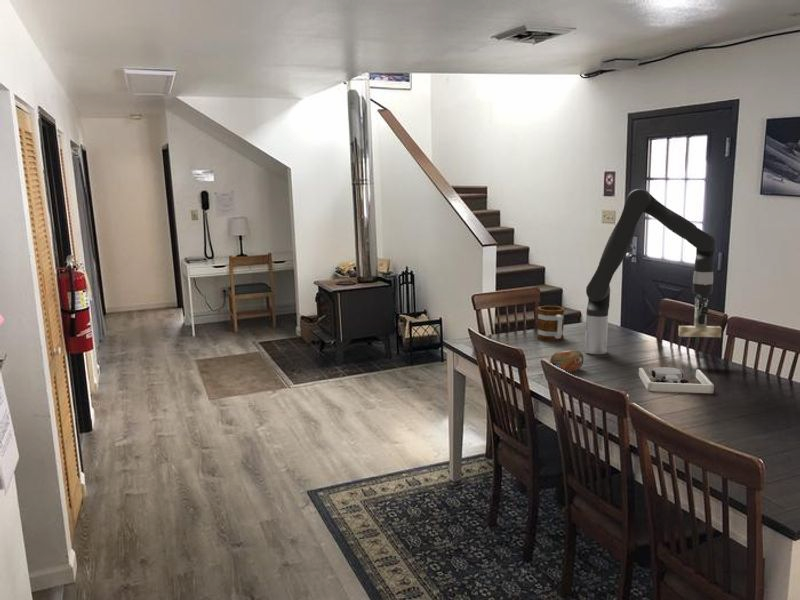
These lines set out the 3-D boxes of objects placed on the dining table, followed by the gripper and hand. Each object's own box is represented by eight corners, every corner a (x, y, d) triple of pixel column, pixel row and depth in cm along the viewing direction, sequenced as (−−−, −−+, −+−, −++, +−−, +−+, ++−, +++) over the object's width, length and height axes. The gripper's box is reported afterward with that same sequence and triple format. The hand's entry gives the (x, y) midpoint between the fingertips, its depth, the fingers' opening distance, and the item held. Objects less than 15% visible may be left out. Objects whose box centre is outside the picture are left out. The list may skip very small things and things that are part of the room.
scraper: (679, 336, 267) (681, 308, 265) (678, 334, 270) (679, 307, 268) (721, 337, 264) (722, 308, 262) (718, 335, 267) (720, 307, 265)
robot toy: (692, 392, 236) (679, 377, 250) (693, 380, 234) (680, 366, 249) (658, 391, 237) (647, 376, 251) (659, 380, 236) (648, 365, 250)
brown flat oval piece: (553, 374, 257) (553, 354, 256) (548, 372, 260) (548, 352, 259) (583, 369, 263) (584, 349, 261) (578, 367, 266) (579, 347, 264)
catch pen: (648, 390, 235) (648, 383, 235) (638, 375, 254) (639, 367, 253) (713, 393, 231) (713, 385, 230) (699, 377, 250) (699, 369, 249)
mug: (532, 335, 320) (533, 306, 317) (558, 334, 322) (559, 304, 319) (546, 345, 301) (546, 314, 298) (573, 343, 303) (574, 313, 300)
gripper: (688, 279, 270) (686, 319, 273) (697, 284, 256) (695, 326, 260) (707, 279, 269) (705, 319, 272) (717, 285, 255) (714, 327, 258)
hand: (700, 322), depth 266 cm, fingers closed on scraper, 3 cm apart
